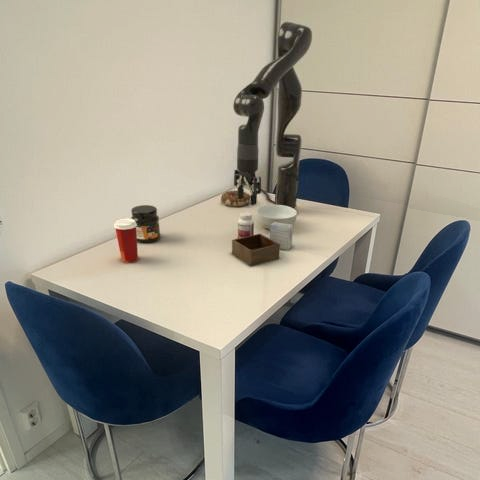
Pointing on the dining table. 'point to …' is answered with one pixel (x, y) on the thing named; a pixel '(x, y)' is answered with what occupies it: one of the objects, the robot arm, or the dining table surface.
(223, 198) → the donut
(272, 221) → the cereal bowl
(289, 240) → the medicine box
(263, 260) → the crate
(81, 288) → the dining table surface
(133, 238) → the paper cup
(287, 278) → the dining table surface
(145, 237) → the supplement container
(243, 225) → the pill bottle
